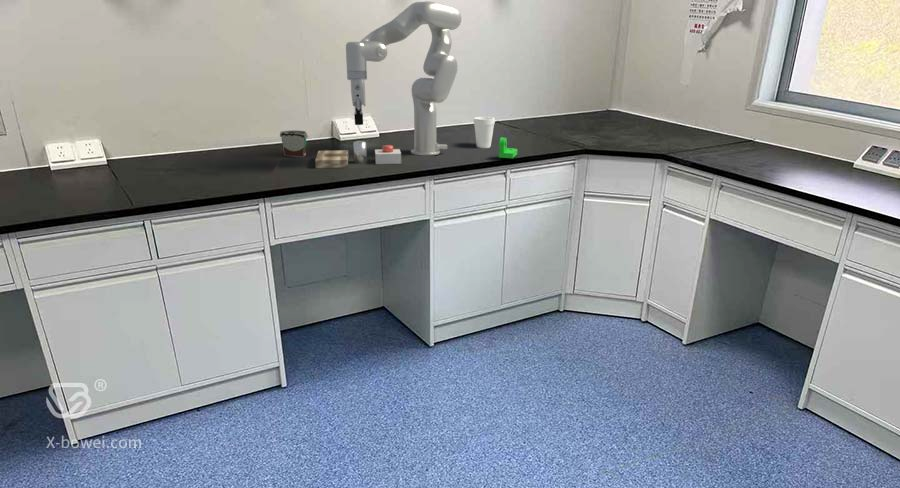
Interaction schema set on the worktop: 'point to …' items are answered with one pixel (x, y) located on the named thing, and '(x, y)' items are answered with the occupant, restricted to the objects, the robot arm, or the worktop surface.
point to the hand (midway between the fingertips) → (358, 123)
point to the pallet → (332, 159)
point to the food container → (294, 143)
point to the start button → (387, 148)
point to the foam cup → (484, 131)
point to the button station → (388, 157)
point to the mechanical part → (506, 149)
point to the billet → (360, 152)
